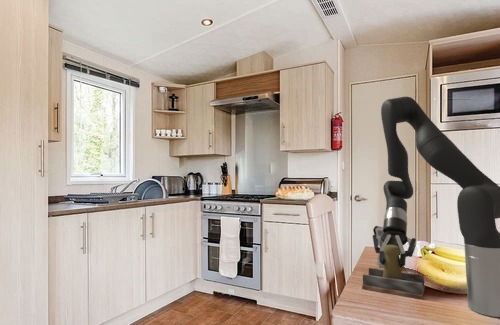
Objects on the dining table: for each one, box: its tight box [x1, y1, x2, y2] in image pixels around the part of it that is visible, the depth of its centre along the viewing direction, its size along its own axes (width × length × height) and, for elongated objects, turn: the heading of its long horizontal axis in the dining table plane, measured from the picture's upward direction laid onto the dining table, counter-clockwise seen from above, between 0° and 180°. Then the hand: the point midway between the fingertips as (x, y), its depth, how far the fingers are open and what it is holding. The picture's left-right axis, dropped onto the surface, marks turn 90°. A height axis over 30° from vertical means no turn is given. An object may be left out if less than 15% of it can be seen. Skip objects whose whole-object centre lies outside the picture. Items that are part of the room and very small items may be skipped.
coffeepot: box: [372, 225, 400, 269], centre depth 124 cm, size 15×9×18 cm, turn 13°
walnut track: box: [361, 267, 426, 300], centre depth 98 cm, size 17×13×4 cm
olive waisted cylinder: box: [383, 245, 403, 280], centre depth 98 cm, size 6×6×11 cm
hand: (391, 264), depth 97 cm, fingers closed on olive waisted cylinder, 5 cm apart
